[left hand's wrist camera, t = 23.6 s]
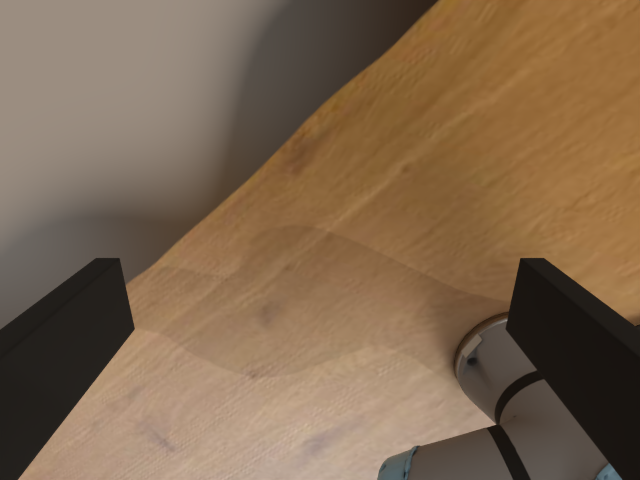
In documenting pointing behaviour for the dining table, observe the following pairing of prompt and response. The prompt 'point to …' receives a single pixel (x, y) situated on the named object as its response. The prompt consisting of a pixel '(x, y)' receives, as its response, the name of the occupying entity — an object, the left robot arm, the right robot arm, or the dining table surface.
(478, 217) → the dining table surface
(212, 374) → the dining table surface
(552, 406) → the left robot arm
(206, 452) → the dining table surface
